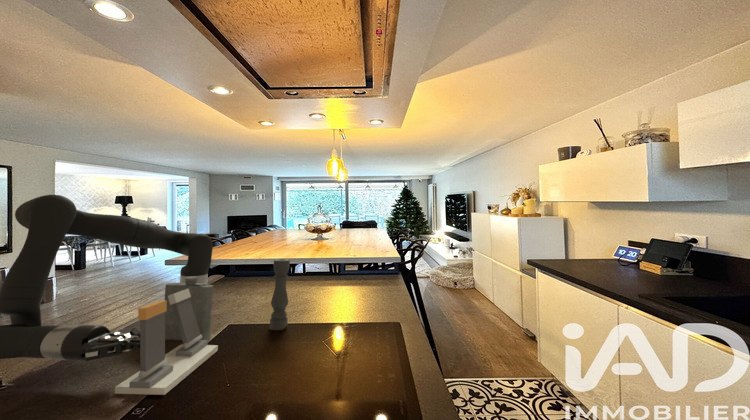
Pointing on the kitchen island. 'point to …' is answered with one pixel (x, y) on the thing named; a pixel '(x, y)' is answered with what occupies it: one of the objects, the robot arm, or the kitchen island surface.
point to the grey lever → (185, 317)
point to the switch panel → (169, 370)
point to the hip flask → (200, 304)
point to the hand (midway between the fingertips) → (150, 343)
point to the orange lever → (152, 337)
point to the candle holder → (280, 294)
